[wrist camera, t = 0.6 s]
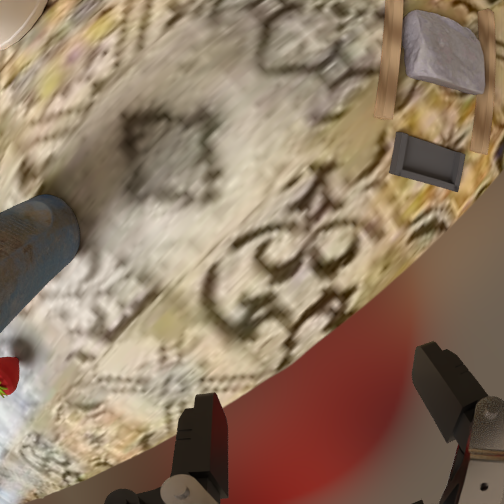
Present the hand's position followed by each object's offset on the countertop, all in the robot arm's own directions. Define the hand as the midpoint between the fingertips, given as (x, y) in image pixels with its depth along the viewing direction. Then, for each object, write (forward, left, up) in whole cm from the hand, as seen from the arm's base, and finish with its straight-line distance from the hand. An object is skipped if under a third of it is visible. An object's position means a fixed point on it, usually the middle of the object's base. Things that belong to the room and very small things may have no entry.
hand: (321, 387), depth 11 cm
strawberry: (+29, -38, -26) cm, 55 cm away
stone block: (-25, +19, -26) cm, 41 cm away
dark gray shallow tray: (-10, +19, -26) cm, 33 cm away
